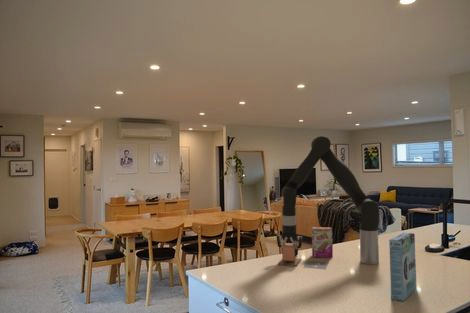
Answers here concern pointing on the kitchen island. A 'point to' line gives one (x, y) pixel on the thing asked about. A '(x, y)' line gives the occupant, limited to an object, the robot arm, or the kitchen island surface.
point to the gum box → (402, 266)
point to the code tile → (316, 264)
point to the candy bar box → (322, 242)
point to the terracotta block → (288, 252)
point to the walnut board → (289, 262)
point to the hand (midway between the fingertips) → (289, 255)
